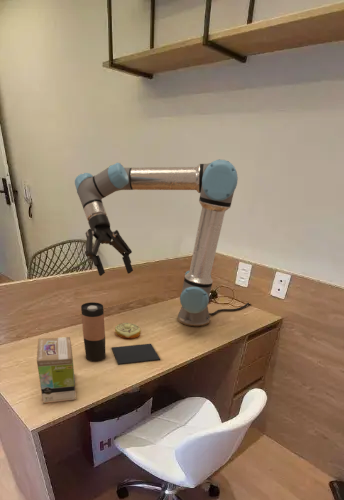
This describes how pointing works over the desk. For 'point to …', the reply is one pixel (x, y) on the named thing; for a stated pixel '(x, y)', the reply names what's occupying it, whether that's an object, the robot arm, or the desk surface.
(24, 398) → the desk surface
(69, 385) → the tea box
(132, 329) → the decorated donut
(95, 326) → the travel mug
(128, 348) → the desk mat
